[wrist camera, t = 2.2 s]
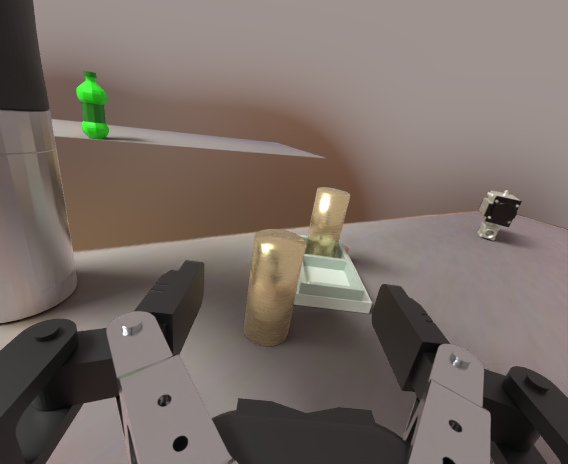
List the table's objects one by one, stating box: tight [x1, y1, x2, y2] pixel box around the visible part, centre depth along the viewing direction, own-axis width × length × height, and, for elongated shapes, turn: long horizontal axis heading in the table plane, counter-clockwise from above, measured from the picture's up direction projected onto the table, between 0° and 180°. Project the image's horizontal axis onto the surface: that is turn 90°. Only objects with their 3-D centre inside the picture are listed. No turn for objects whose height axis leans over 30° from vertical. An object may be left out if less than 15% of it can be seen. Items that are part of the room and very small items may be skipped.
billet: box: [244, 229, 306, 347], centre depth 26 cm, size 4×4×10 cm
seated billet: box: [304, 187, 350, 258], centre depth 39 cm, size 4×4×10 cm
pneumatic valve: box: [477, 190, 521, 241], centre depth 66 cm, size 6×12×12 cm, turn 152°
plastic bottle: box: [76, 71, 109, 139], centre depth 113 cm, size 10×10×25 cm
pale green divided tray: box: [294, 235, 372, 314], centre depth 38 cm, size 10×14×3 cm
